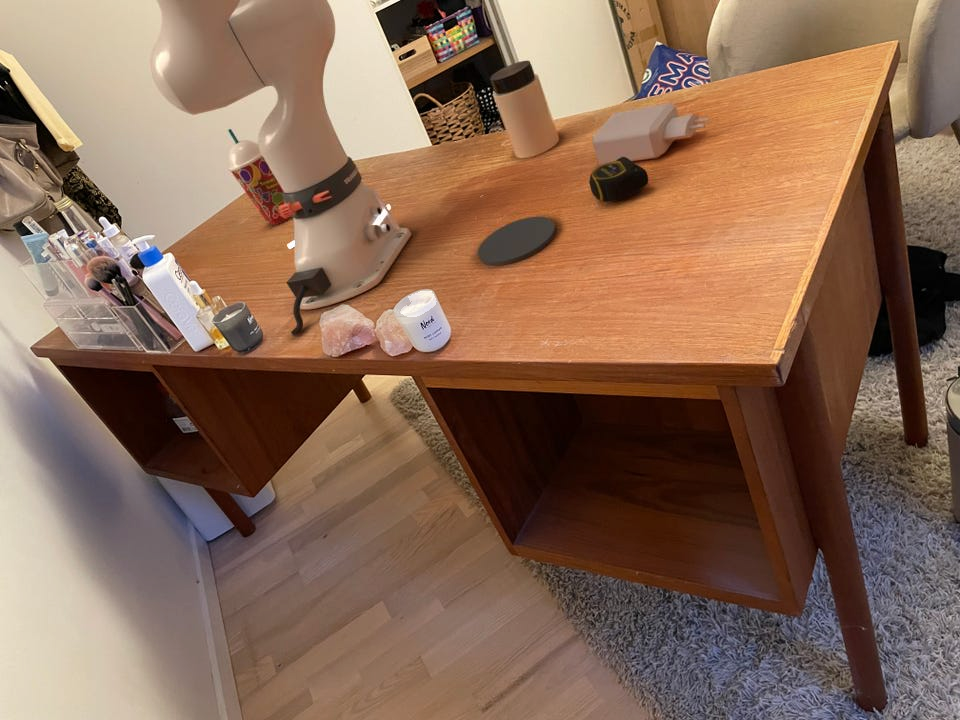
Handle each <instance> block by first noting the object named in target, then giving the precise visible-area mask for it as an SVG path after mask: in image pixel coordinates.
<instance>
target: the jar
mask: <svg viewBox="0 0 960 720" xmlns="http://www.w3.org/2000/svg"><path fill="white" fill-rule="evenodd" d="M534 75H535V77H534V78H533V79H532V80H531V81H530V82H529V83H527V84H525V85H524V86H522V87H520V88H517V89H515V90H513V91H510V92H506V93H502V94H497V93H495V92H494V91H493V92H492V96H493V100H494V102H495V105H496V108H497V110H498V113H499V115H500V118H501V120H502V124H503V126H504V129H505V131H506V134H507V136H508V139H509V142H510V144H511V147H512V150H513V153H514V156H515V157H516V158H517V159H529V158H532V157H533V158H534V157H535V156H539V155H541V154H543V153H546V152H547V151H549V150H550V149H553V148H554V147H555V146H556V145H557V144H558V143H559V141H560V136H559V134H558V133H559V132H558V130H557V128H556V124H555V122H554V118H553V116H552V113H551V110H550V106H549V103H548V100H547V98H546V94H545V92H544V89H543V86H542V82H541V79H540V77H539V75H538V74H536V73H534Z"/></svg>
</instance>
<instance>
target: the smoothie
mask: <svg viewBox="0 0 960 720" xmlns="http://www.w3.org/2000/svg"><path fill="white" fill-rule="evenodd" d="M227 132H228V133H229V135H230V136H231V138H232V140H233V141H234V144H233V145H232V146H231V147H230V149H229V151H228V154H227V164H228V171H230V172H231V174H232V175H233V177H234V178H235V179H236V181H237V183H239V185H240V187H241V188H242V189H243V190H244V192H245V193H246V195H247V196H248V198H249V199H250V200H251V202H252V203H253V205H254V206H255V208H256V209H257V210H258V212H259V213H260V214H261V216H262V217H263V219H264V220H265V221H266V222H268V223H270V224H271V225H272V226H275V225H280V224H282V223H284V222H286V221H288V220H289V219H291V218H292V217H291V216H290V217H288V218H286V219H285V218H284V217H282V215H280V214H281V213H279V211H280V210H279V206H280V205H283V204H285V200H284V197H283V194H282V191H283V190H282V188H281V186H280V184H279V183H278V181H277V179H276V178H275V176H274V174H273V173H272V171H271V169H270V168H269V166H268V164H267V163H266V161H265V159H264V158H263V156H262V154H261V153H260V150H259V147H258V142H255V141H252V140H247V139H244V140H239V139H238V138H237V136H236V135H235V133H234V132H233V130H232V128H229V129H228V130H227Z"/></svg>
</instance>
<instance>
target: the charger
mask: <svg viewBox="0 0 960 720" xmlns="http://www.w3.org/2000/svg"><path fill="white" fill-rule="evenodd" d="M677 108H678V107H677V106H676V105H674V104H673V103H671V102H668V103H663V104H658V105H657V104H656V105H652V106H646V107H641V108H636V109H630V110H626V111H619V112H615V113H613V114H611V115H610V117H609V118H608V119H607V120H606V121H605V122H604V123H603V124H602V126H601V127H600V128H599V129H598V130H597V131H596V132H595V133H594V134H593V137H592V147H593V150H594V153H595V156H596V159H597V162H598V165H599V166H601V165H603V164H606V163H609V162H613V161H616V160H617V159H619V158H621V157H626V158H628V159H629V160H631V161H632V162H637V161H643V160H651V159H658V158H659V157H661V156H662V155H664V154H665V153H666V152H667V150H668V149H669V148H670V147H671V145H672V144H673V142H674V141H676V140H683V139H689V138H692V137H693V135H694V133H695V132H696V130H697V129H702V128H706V124H705V123H707V122H709V121H710V118H709V117H708V118H700V119H699V115H698V114H697V113H696V114H693V113H692V114H686V115H681V116H679V113H678V109H677Z"/></svg>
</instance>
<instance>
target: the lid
mask: <svg viewBox="0 0 960 720" xmlns="http://www.w3.org/2000/svg"><path fill="white" fill-rule="evenodd" d="M532 65H533V64H532V63H531V61H530V60H522V61H518V62H517V61H516V62H514V63H512V64H509V65H507V66H505V67H503V68H501V69H499V70H498V71H496V72H494V73H493V74H492V75H491V76H490V77H489V80H490V84H491V86H492V89H493V93H494V92H495V93H497V94H502V93H506V92H510V91H513V90H515V89H517V88H520V87H522V86H524V85H525V84H527V83H529V82H530V81H531V80H532V79H533V78H534V77H535V75H534V74H535V71H534V68H533V66H532Z"/></svg>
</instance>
